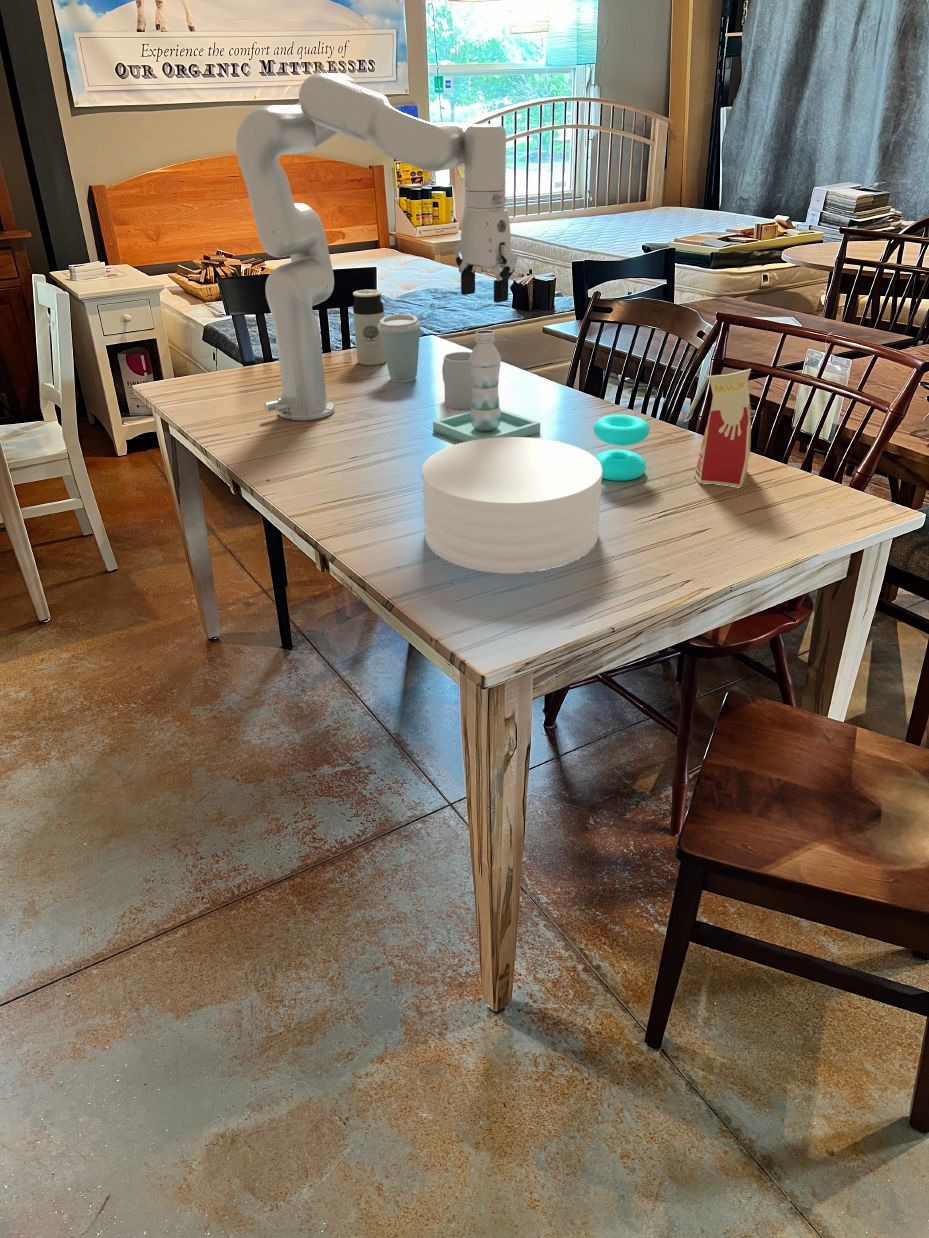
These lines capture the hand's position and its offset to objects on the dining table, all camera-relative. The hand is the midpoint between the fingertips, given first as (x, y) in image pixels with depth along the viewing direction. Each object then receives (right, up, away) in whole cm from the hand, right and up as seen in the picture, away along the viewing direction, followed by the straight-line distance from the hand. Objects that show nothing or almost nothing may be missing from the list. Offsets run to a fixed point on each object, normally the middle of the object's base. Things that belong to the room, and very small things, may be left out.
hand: (484, 297), depth 169 cm
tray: (+1, -23, +14) cm, 27 cm away
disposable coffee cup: (-20, -2, +50) cm, 54 cm away
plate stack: (+4, -49, -28) cm, 57 cm away
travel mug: (-29, +6, +65) cm, 71 cm away
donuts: (+25, -36, -7) cm, 44 cm away
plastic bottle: (+1, -23, +14) cm, 27 cm away
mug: (-5, -13, +32) cm, 35 cm away
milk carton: (+43, -37, -10) cm, 58 cm away
